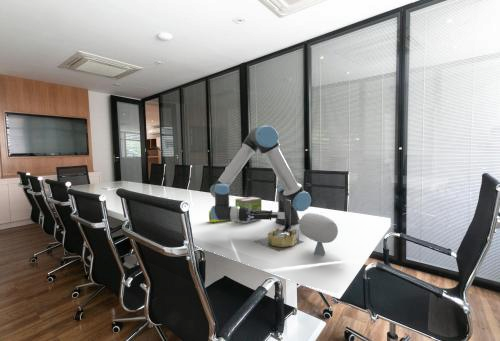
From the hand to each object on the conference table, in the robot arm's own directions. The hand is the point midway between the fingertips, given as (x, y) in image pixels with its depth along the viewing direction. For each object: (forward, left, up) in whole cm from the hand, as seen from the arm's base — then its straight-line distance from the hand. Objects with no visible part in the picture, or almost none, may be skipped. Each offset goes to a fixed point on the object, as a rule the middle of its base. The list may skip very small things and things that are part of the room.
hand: (284, 215), depth 129 cm
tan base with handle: (+3, -5, -11) cm, 13 cm away
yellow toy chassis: (-53, -4, -13) cm, 54 cm away
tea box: (-42, +11, -13) cm, 45 cm away
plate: (+2, -6, -12) cm, 14 cm away
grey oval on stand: (+21, -3, -13) cm, 25 cm away
